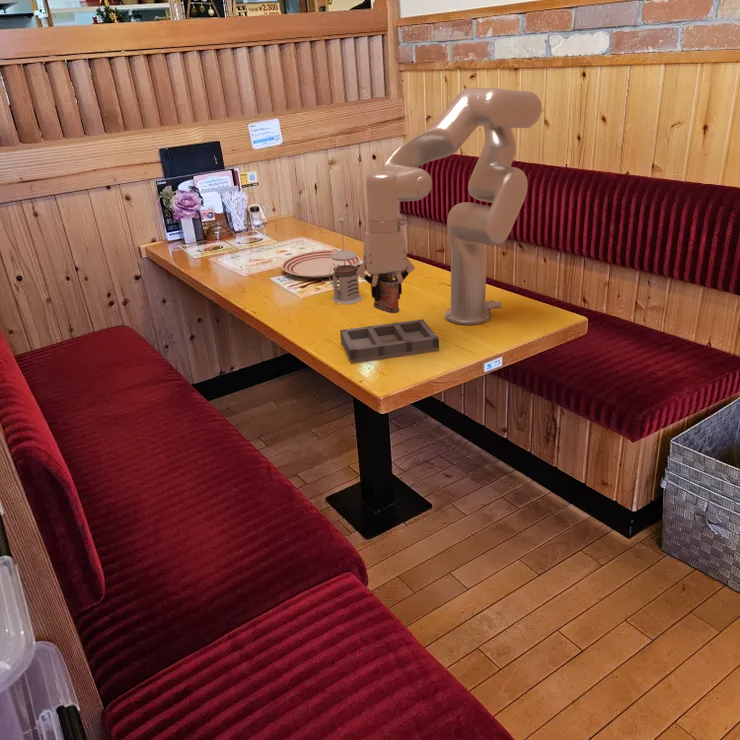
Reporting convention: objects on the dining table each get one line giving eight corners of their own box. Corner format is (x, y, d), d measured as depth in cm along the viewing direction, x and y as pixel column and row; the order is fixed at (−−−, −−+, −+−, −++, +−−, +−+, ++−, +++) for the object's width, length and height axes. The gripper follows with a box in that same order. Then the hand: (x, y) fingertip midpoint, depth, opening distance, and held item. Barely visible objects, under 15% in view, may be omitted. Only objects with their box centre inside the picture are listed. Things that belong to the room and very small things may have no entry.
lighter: (370, 306, 169) (369, 268, 165) (380, 303, 171) (379, 265, 167) (392, 314, 164) (392, 274, 159) (402, 311, 166) (402, 271, 161)
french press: (369, 296, 207) (364, 215, 196) (346, 308, 198) (341, 224, 187) (343, 291, 212) (338, 212, 201) (320, 303, 204) (313, 221, 193)
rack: (423, 331, 180) (423, 319, 178) (438, 351, 168) (438, 338, 167) (341, 342, 176) (340, 330, 174) (351, 363, 164) (350, 350, 163)
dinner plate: (325, 288, 217) (325, 278, 215) (265, 275, 232) (264, 266, 231) (376, 265, 236) (376, 256, 235) (318, 255, 251) (317, 246, 250)
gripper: (414, 218, 163) (415, 290, 171) (346, 225, 160) (350, 297, 168) (423, 225, 157) (423, 299, 165) (352, 233, 153) (356, 307, 161)
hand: (386, 297), depth 166 cm, fingers closed on lighter, 4 cm apart
